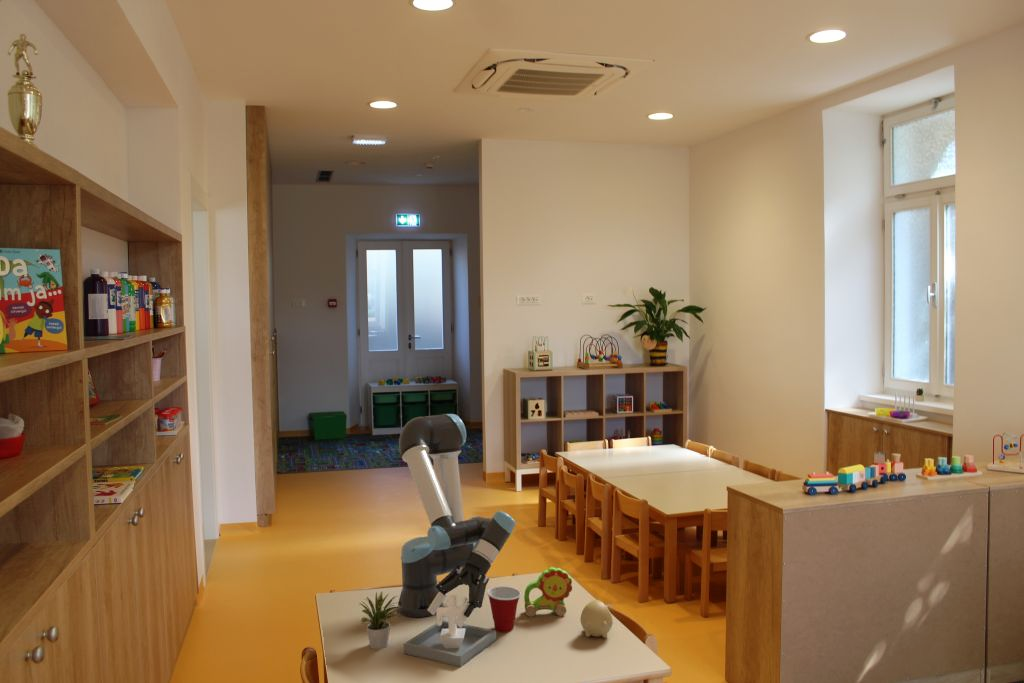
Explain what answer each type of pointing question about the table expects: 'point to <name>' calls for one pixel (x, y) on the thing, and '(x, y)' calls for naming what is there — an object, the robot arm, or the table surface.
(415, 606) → the robot arm
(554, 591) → the toy lion
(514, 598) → the plastic cup
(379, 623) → the house plant
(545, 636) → the table surface
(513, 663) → the table surface
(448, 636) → the figurine
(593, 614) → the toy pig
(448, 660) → the tray
